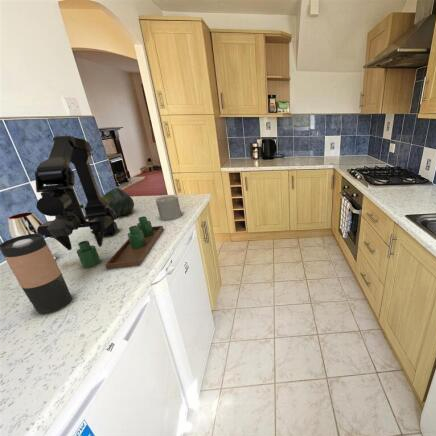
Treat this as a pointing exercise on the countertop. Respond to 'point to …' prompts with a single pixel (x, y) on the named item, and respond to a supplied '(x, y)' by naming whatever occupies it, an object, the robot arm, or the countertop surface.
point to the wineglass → (23, 224)
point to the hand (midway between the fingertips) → (85, 248)
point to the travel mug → (37, 272)
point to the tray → (133, 252)
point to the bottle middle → (136, 237)
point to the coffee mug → (168, 207)
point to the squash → (119, 201)
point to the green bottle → (88, 254)
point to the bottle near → (145, 226)
